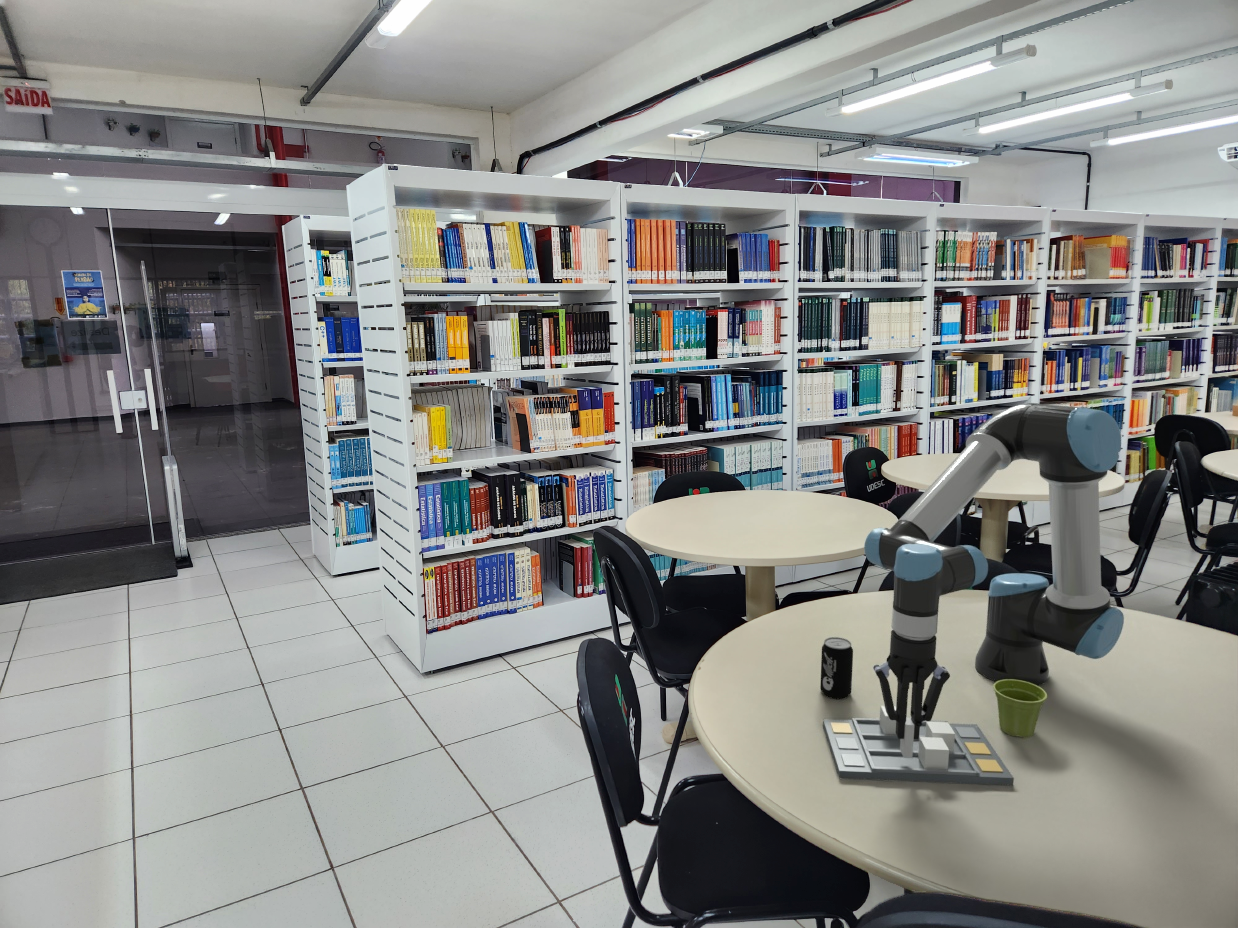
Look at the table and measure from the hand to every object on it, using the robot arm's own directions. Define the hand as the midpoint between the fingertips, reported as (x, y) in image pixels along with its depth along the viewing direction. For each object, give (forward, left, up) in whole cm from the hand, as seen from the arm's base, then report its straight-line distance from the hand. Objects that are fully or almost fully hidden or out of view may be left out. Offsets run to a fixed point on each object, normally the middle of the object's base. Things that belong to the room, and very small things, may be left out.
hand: (906, 753), depth 139 cm
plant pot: (-26, -16, -4) cm, 30 cm away
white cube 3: (-5, 0, -2) cm, 5 cm away
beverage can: (+7, -29, -4) cm, 30 cm away
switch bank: (-3, -6, -3) cm, 7 cm away
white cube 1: (0, -11, -2) cm, 12 cm away
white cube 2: (-8, -6, -2) cm, 10 cm away
